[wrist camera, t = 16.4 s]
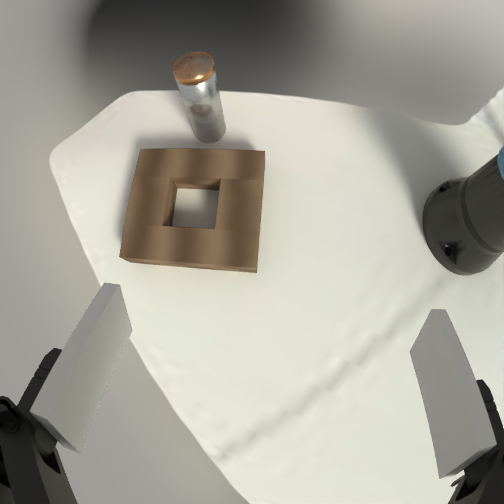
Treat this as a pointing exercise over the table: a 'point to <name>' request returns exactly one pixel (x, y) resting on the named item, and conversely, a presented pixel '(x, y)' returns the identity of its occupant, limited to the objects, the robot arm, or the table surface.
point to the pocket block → (195, 239)
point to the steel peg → (200, 94)
